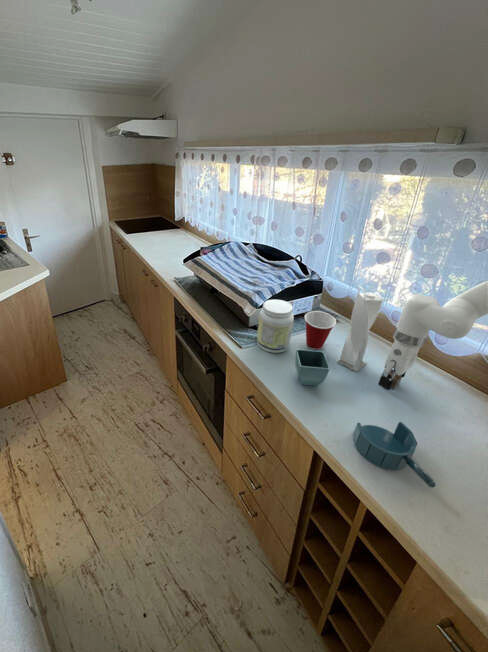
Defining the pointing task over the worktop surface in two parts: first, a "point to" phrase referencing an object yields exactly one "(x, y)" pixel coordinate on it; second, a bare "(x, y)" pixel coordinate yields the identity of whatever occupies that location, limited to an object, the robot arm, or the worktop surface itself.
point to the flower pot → (311, 367)
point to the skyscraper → (360, 329)
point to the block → (395, 380)
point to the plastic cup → (318, 328)
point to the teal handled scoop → (389, 448)
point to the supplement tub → (275, 326)
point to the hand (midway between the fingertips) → (391, 380)
